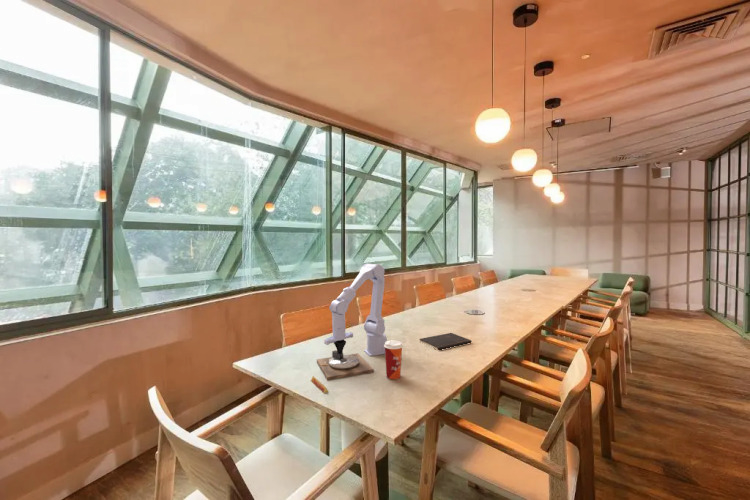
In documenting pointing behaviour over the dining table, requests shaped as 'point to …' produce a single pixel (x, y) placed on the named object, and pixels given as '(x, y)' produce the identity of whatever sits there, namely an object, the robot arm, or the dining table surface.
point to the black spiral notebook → (445, 341)
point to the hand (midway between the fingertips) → (339, 356)
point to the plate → (337, 373)
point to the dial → (343, 361)
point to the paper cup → (393, 358)
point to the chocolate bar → (319, 385)
